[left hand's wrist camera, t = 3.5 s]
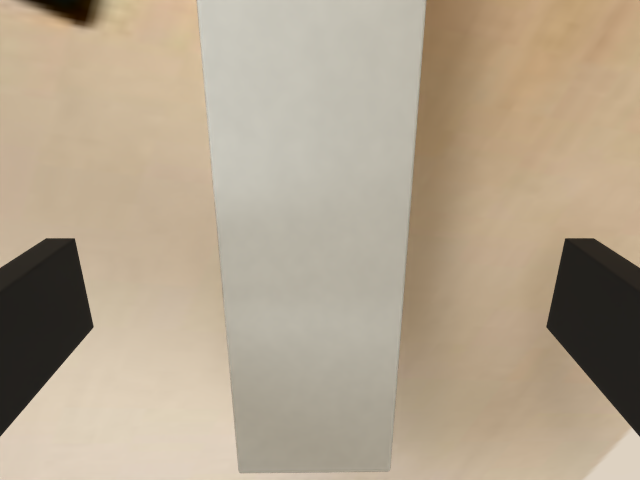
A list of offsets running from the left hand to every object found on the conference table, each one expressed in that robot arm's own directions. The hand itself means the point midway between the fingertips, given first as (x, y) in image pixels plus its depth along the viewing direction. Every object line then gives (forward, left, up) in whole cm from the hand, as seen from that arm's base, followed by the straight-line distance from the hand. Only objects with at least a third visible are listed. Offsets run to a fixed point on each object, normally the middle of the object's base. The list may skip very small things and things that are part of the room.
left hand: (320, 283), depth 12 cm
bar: (+15, +26, -8) cm, 31 cm away
